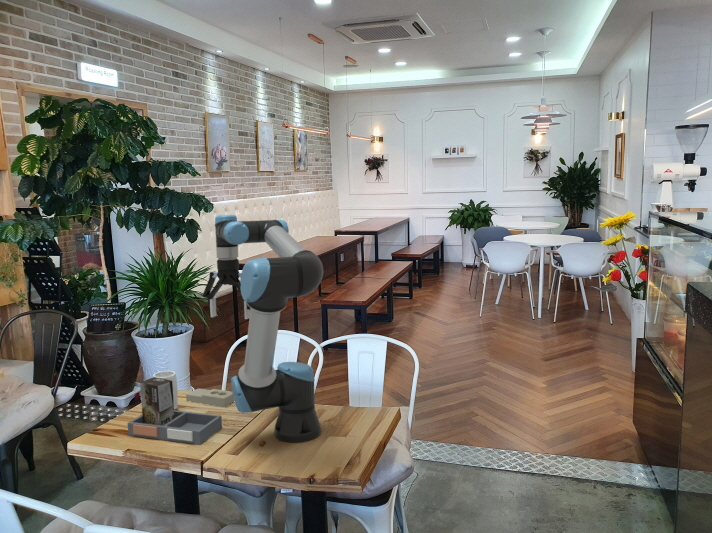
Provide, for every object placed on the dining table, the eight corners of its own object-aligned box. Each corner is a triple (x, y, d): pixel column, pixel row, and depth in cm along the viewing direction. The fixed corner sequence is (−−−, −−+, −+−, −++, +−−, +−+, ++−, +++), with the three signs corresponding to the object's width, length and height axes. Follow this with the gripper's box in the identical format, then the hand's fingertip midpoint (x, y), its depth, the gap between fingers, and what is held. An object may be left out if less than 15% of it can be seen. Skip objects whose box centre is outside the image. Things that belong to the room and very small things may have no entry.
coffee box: (176, 426, 190) (173, 380, 188) (160, 433, 185) (157, 386, 183) (157, 421, 195) (155, 376, 193) (142, 427, 190) (139, 381, 187)
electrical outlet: (198, 386, 222) (235, 391, 215) (198, 396, 223) (236, 402, 215) (185, 392, 216) (224, 398, 208) (186, 402, 216) (224, 408, 209)
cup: (161, 406, 211) (159, 370, 209) (182, 407, 210) (180, 370, 208) (149, 415, 202) (147, 377, 201) (172, 416, 201) (169, 378, 199)
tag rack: (222, 427, 191) (221, 415, 190) (199, 445, 177) (198, 432, 177) (154, 419, 198) (153, 408, 198) (127, 436, 185) (126, 423, 185)
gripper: (264, 258, 199) (266, 316, 201) (202, 256, 206) (205, 313, 209) (254, 260, 191) (257, 321, 194) (190, 259, 199) (194, 318, 201)
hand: (230, 317), depth 201 cm, fingers open, 13 cm apart
